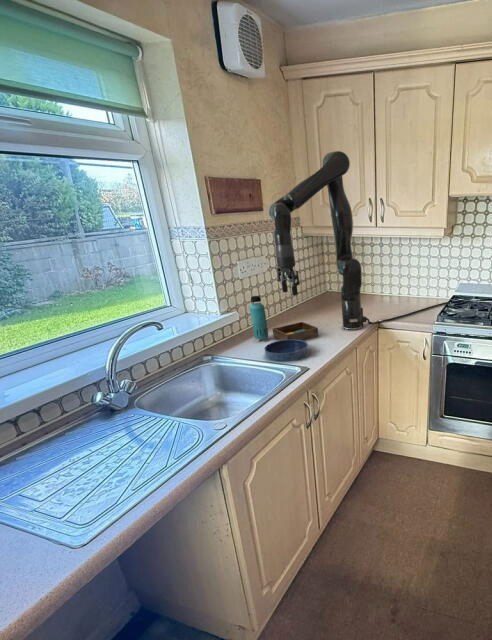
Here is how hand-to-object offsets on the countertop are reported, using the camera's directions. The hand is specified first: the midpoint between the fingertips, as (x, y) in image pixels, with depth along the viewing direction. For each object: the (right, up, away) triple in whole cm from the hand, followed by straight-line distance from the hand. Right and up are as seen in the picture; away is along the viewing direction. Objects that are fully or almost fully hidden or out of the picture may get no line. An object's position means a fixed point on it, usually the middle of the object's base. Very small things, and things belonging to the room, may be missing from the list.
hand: (290, 293), depth 178 cm
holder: (+1, -18, +9) cm, 21 cm away
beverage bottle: (-14, -20, +7) cm, 25 cm away
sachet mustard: (-2, -19, +7) cm, 20 cm away
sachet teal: (+3, -17, +10) cm, 20 cm away
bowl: (+1, -28, -11) cm, 30 cm away
